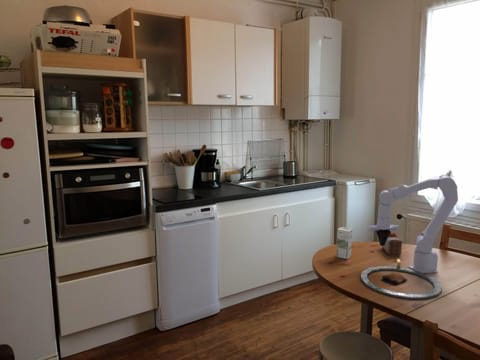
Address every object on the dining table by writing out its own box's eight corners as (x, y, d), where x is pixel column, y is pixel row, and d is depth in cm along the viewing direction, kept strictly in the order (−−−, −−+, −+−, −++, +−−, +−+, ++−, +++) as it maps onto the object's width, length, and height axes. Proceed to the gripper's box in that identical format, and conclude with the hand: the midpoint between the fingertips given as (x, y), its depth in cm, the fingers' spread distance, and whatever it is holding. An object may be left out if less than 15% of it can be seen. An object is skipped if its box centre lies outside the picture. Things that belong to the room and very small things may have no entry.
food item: (379, 247, 210) (380, 229, 208) (394, 247, 210) (396, 229, 208) (387, 256, 197) (389, 237, 195) (403, 256, 196) (405, 237, 194)
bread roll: (391, 275, 174) (392, 267, 173) (409, 281, 167) (410, 273, 167) (377, 281, 167) (378, 272, 167) (395, 287, 161) (396, 279, 160)
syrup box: (351, 256, 195) (352, 228, 193) (347, 260, 190) (349, 230, 188) (339, 254, 198) (341, 226, 196) (335, 257, 193) (337, 228, 191)
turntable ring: (434, 270, 178) (435, 263, 178) (446, 304, 145) (447, 296, 145) (363, 260, 189) (363, 254, 188) (358, 291, 156) (359, 283, 155)
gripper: (393, 214, 186) (391, 241, 189) (365, 215, 184) (363, 243, 186) (402, 217, 180) (400, 246, 182) (373, 219, 177) (371, 248, 179)
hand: (382, 245), depth 183 cm, fingers closed
